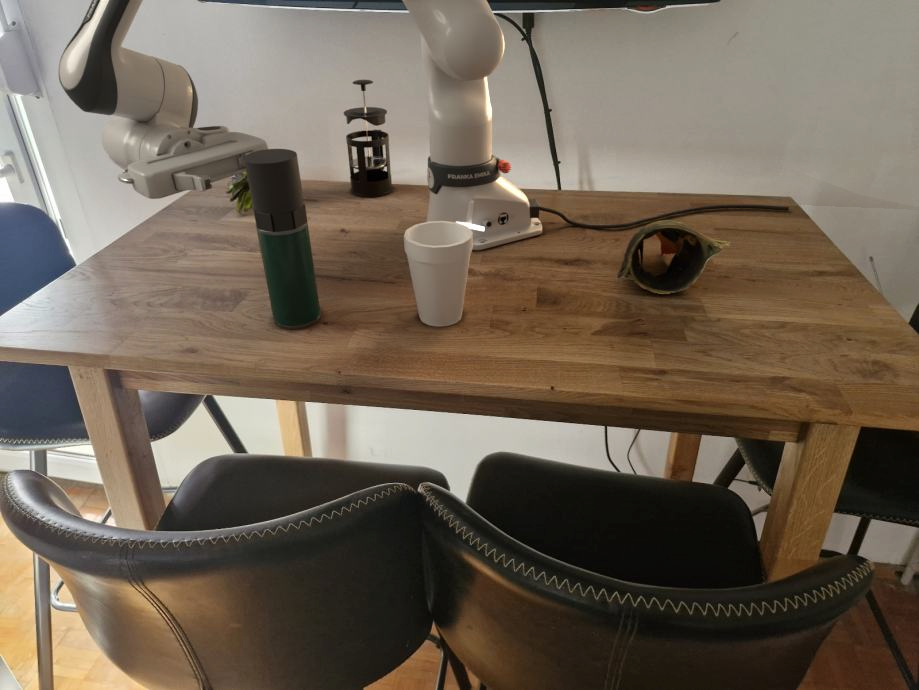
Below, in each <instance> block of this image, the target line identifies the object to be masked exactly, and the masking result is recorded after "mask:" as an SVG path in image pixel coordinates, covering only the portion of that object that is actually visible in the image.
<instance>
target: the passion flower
mask: <svg viewBox="0 0 919 690" xmlns="http://www.w3.org/2000/svg"><path fill="white" fill-rule="evenodd" d="M230 178H231V180H229V181H228V183H227V187H228V188H227V189H226V190H225V194H227V195H229V194H231V195H230V196H229V202H230V203H233V202H234V201H235V200H237V201H236V209H237V213H239V214H240V216H243V213H245V214H246V213H248V212H249V211H250V210H253V204H252V199H251V193H250V188H249V183H248V177H247V172H244V173H241V174H238V175H234V176H231V177H230Z"/></svg>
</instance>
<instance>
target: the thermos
mask: <svg viewBox="0 0 919 690" xmlns="http://www.w3.org/2000/svg"><path fill="white" fill-rule="evenodd" d="M255 230H256V234H257V239H258V245H259V249H260V255H261V260H262V266H263V271H264V276H265V281H266V287H267V293H268V297H269V298H268V299H269V302H270V308H271V313H272V319H273V323H274V325H275V326H276V327H278V328H280V329H282V330H287V331H297V330H303V329H306V328H310V327H313V326H314V325H316V324H317V323H318V322H319V321H320V320H321V318H322V311H321V307H320V299H319V292H318V285H317V279H316V278H317V277H316V272H315V266H314V265H315V264H314V258H313V257H314V256H313V251H312V244H311V238H310V237H311V235H310V229H309V222H308V220H307V223H305V224H304V225H302V226H300V227H298V228H297V229H294V230H287V231H280V232H275V231H274V232H270V231H265V230H260V229H258V228H257V225H256V224H255Z"/></svg>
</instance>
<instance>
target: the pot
mask: <svg viewBox="0 0 919 690" xmlns="http://www.w3.org/2000/svg"><path fill="white" fill-rule="evenodd" d="M654 236H657V238H658V239H659V242H660V257H663V255H673V257H672V258H671V261H670V263H669V265H668V267H667V269H666V271H664V272H661V273H658V274H654V273H652V272H651V271H649V270H647V269H646V268H644V267H643V261H644V245H645V244H644V243H645V240H647V239H650V238H652V237H654ZM733 244H734V242H733V241H730V240H717V239H713V238H711V237H709V236H706V235H704V234H702V233H700V232H698V231H697V230H695V229H694V228H693V227H691V226H690V225H688V224H686V223H684V222H681V221H679V222H678V221H674V220H672V219H662V220H658V221H653V222H651V223H648V224H646V225H644V226H642V227H641V228H640V229H639V230H638V231H637V232H635V233H634V235H633V236H632V237H631V239H630V240H629V242H628V244H627V248H626V249H625V253H624V255H623V256H624V257H623V260H622V263H621V266H620V269H619V271H618V272H617V275H616V279H622V278H624V279H626V280H629V281H630V280H632V281H634V283H636V284H638V285H639V286H640V288H642V289H643V290H647V291H649V292H651V293H655V294H656V293H657V294H658V295H659V294H661V295H662V294H663V295H664V294H665V295H667V294H668V295H669V294H671V293H674V294H675V293H679V292H681V291H685V290H686V289H689V288H690V286H691V285H693V284H694V283H695V282H696V281H697V279H698V278H700V276H702V273H703V271H704V269H706V264H707V262H708V261H709V260H710V259H711V258H712V257H714V256H716V255H719V254H721V253H722V252H723V250H722V248H723V247H729V246H732V245H733Z"/></svg>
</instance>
